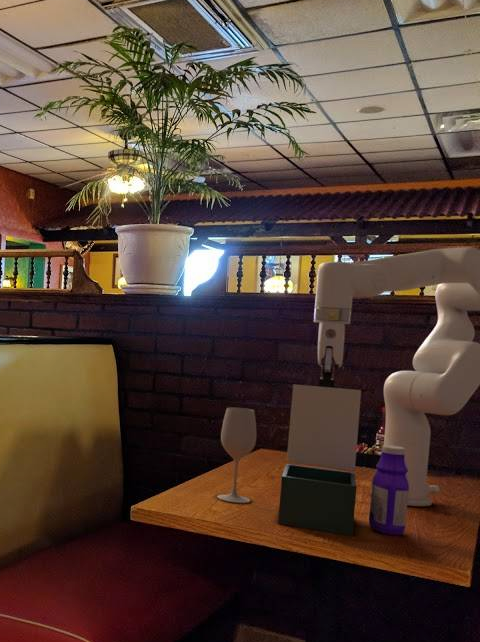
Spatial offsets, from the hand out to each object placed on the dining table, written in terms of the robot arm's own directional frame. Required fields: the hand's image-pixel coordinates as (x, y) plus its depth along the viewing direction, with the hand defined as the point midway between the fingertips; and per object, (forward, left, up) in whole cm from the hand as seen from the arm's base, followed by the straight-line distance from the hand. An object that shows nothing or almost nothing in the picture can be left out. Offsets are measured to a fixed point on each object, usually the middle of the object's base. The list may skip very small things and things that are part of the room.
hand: (325, 397), depth 171 cm
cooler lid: (+4, +5, -6) cm, 9 cm away
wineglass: (+18, -6, -25) cm, 31 cm away
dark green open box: (+11, +12, -25) cm, 30 cm away
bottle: (+1, +20, -25) cm, 32 cm away
